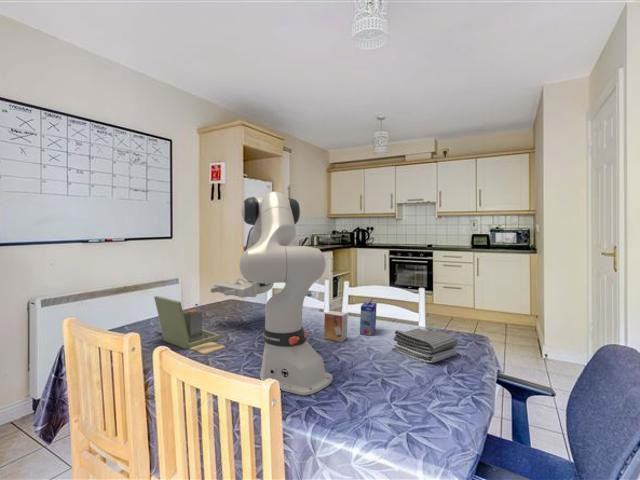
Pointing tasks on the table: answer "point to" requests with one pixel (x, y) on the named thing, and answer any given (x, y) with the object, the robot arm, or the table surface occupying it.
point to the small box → (335, 326)
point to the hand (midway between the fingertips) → (218, 292)
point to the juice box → (368, 318)
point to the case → (177, 324)
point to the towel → (425, 345)
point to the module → (193, 325)
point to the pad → (207, 347)
